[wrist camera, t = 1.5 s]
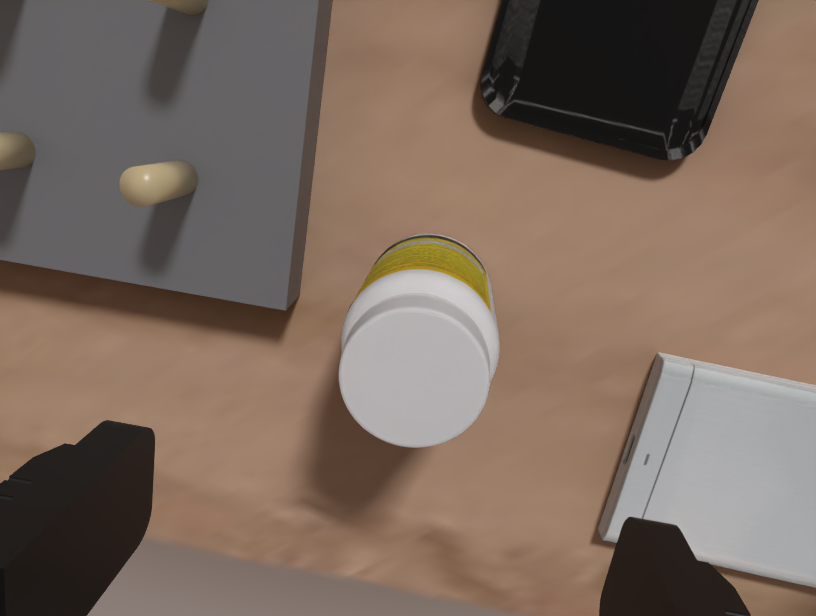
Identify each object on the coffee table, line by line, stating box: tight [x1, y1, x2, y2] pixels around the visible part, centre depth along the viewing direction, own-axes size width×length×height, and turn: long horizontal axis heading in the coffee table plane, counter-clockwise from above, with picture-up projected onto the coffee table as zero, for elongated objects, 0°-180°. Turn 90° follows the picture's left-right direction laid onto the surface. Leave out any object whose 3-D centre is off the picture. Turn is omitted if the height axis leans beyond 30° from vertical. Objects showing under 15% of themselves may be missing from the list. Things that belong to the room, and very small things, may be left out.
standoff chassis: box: [0, 0, 332, 311], centre depth 21 cm, size 14×14×5 cm
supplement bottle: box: [338, 234, 500, 448], centre depth 20 cm, size 5×5×8 cm
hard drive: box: [598, 352, 816, 588], centre depth 25 cm, size 2×8×12 cm
